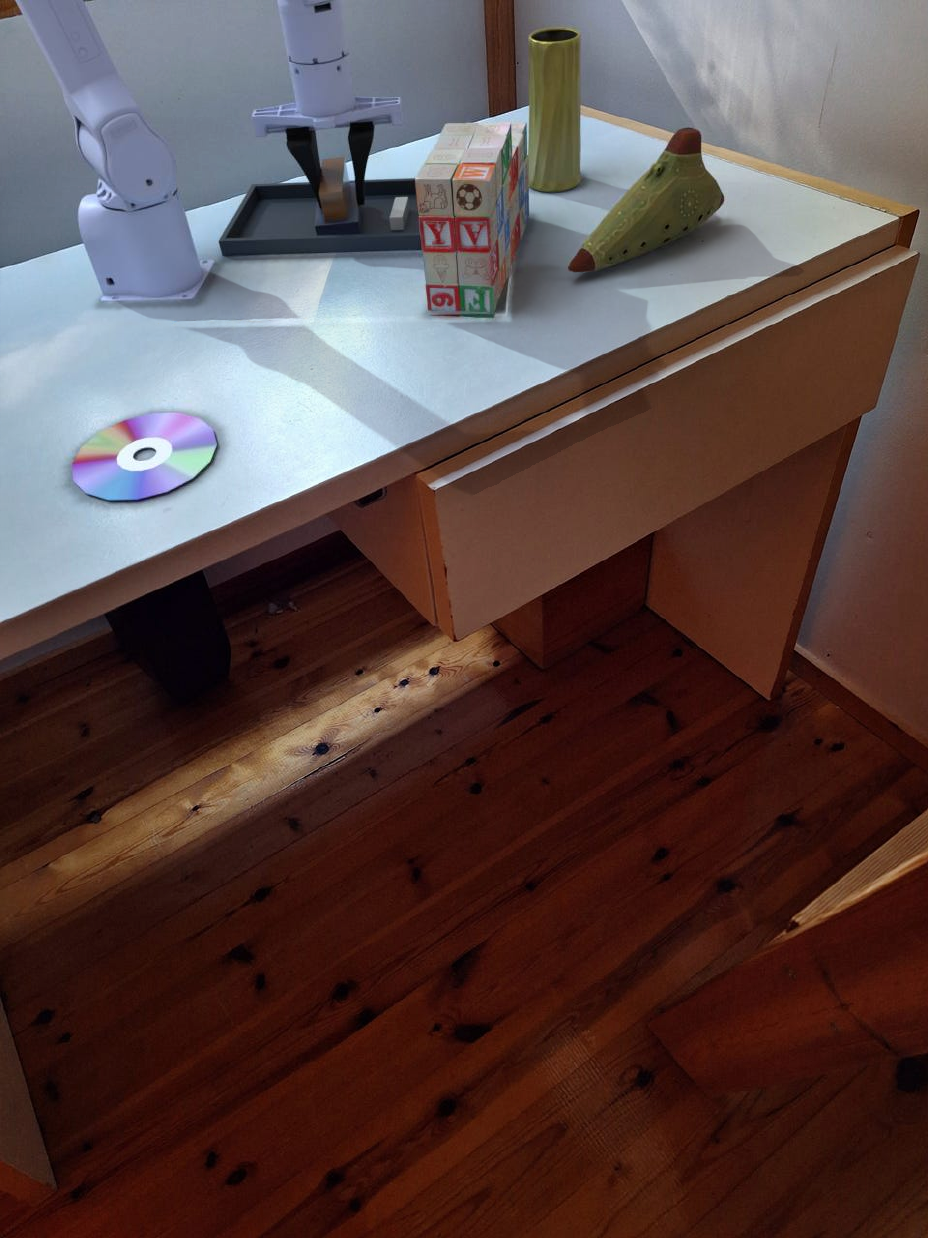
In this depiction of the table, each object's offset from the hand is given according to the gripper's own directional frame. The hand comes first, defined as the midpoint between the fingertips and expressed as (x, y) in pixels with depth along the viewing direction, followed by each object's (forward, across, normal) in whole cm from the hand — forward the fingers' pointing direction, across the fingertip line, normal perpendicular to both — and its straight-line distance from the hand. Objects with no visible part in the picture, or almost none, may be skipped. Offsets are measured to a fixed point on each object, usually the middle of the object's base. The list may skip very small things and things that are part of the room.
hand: (342, 202), depth 94 cm
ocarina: (+3, +30, -11) cm, 32 cm away
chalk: (+2, +6, -1) cm, 6 cm away
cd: (+3, -14, -39) cm, 41 cm away
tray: (+3, -1, 0) cm, 3 cm away
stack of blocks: (+3, +14, -11) cm, 18 cm away
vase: (+3, +23, +7) cm, 24 cm away
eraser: (+2, 0, 0) cm, 2 cm away
